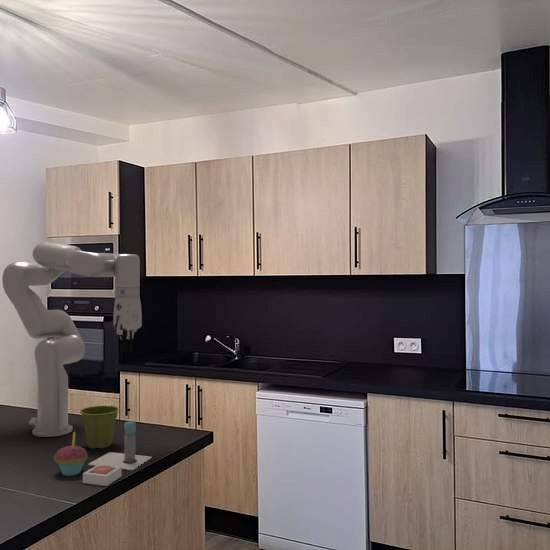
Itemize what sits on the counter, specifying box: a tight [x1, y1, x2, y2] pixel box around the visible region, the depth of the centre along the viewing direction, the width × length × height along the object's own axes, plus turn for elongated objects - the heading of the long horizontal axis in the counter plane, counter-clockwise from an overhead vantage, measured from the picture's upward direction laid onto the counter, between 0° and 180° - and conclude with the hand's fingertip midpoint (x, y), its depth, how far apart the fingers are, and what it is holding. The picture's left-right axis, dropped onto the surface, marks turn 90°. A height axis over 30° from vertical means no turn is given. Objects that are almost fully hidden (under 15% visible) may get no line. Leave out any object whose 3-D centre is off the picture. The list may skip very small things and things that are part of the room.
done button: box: [94, 466, 111, 475], centre depth 150 cm, size 4×4×2 cm
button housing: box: [82, 464, 122, 487], centre depth 150 cm, size 7×7×2 cm
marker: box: [123, 420, 137, 463], centre depth 164 cm, size 3×3×11 cm
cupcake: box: [53, 429, 88, 477], centre depth 155 cm, size 9×8×12 cm
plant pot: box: [79, 405, 120, 449], centre depth 179 cm, size 12×12×11 cm
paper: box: [87, 451, 153, 471], centre depth 165 cm, size 14×11×1 cm
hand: (126, 351), depth 181 cm, fingers closed
